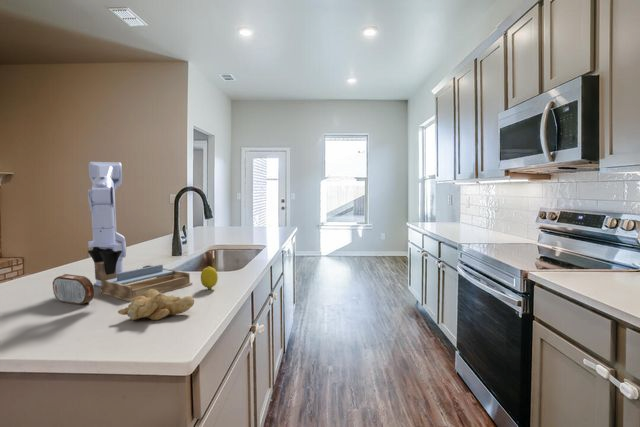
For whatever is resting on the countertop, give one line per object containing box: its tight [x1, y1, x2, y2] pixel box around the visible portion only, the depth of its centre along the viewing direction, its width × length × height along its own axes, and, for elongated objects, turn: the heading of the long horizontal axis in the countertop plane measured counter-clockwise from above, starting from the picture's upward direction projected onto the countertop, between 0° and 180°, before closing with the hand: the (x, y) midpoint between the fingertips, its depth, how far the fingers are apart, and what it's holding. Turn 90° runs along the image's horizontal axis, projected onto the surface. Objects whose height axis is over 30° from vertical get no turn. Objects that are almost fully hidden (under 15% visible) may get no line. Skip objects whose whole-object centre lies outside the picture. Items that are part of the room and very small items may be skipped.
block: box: [93, 261, 116, 281], centre depth 107 cm, size 4×4×5 cm
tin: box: [52, 273, 95, 306], centre depth 110 cm, size 15×3×8 cm, turn 70°
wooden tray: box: [99, 267, 193, 303], centre depth 124 cm, size 19×23×4 cm
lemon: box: [200, 265, 219, 290], centre depth 122 cm, size 6×6×8 cm
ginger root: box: [117, 289, 195, 321], centre depth 97 cm, size 16×16×8 cm
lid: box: [107, 264, 173, 285], centre depth 126 cm, size 8×20×3 cm, turn 147°
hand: (106, 273), depth 108 cm, fingers closed on block, 4 cm apart
